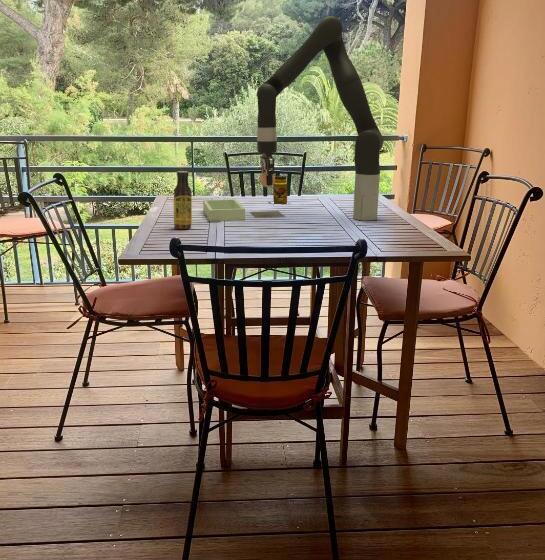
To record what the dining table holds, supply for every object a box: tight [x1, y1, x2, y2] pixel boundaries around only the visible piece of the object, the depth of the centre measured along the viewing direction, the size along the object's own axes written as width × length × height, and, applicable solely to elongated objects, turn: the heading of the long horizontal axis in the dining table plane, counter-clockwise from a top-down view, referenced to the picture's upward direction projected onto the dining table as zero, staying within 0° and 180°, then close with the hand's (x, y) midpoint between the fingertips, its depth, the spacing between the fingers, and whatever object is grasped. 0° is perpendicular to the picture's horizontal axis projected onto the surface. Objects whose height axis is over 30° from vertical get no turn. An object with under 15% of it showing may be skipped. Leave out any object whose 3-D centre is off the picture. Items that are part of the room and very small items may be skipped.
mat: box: [249, 210, 286, 219], centre depth 228 cm, size 12×12×1 cm
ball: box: [259, 172, 276, 188], centre depth 223 cm, size 6×6×6 cm
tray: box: [202, 198, 246, 223], centre depth 225 cm, size 22×13×4 cm, turn 13°
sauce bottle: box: [173, 170, 193, 230], centre depth 202 cm, size 6×6×20 cm
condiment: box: [272, 175, 291, 205], centre depth 252 cm, size 7×8×12 cm
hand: (267, 184), depth 224 cm, fingers closed on ball, 6 cm apart
